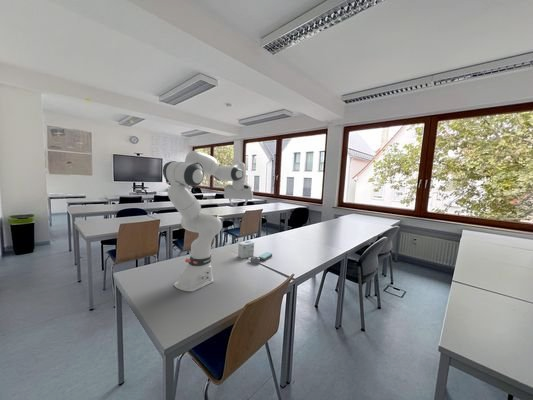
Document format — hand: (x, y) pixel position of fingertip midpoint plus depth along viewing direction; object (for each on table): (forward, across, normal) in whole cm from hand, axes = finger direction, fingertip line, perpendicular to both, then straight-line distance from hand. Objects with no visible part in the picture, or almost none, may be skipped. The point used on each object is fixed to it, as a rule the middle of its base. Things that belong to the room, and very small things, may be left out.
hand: (238, 205), depth 155 cm
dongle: (+41, +12, +2) cm, 43 cm away
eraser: (+42, +20, +12) cm, 48 cm away
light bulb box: (+42, +4, +13) cm, 44 cm away
